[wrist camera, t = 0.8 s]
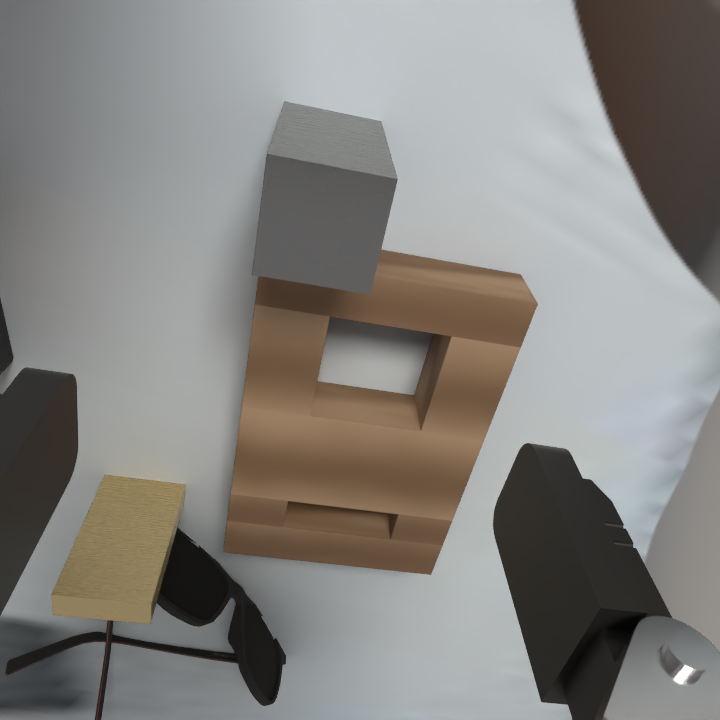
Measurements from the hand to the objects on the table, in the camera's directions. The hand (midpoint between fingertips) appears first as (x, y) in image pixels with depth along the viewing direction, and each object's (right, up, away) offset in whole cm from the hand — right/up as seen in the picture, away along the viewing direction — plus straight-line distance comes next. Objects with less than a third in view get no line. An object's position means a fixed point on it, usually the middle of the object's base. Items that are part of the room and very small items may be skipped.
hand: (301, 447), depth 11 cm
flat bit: (-11, -6, +25) cm, 28 cm away
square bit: (0, +10, +15) cm, 18 cm away
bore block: (+1, -1, +22) cm, 23 cm away
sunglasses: (-13, -15, +32) cm, 38 cm away
